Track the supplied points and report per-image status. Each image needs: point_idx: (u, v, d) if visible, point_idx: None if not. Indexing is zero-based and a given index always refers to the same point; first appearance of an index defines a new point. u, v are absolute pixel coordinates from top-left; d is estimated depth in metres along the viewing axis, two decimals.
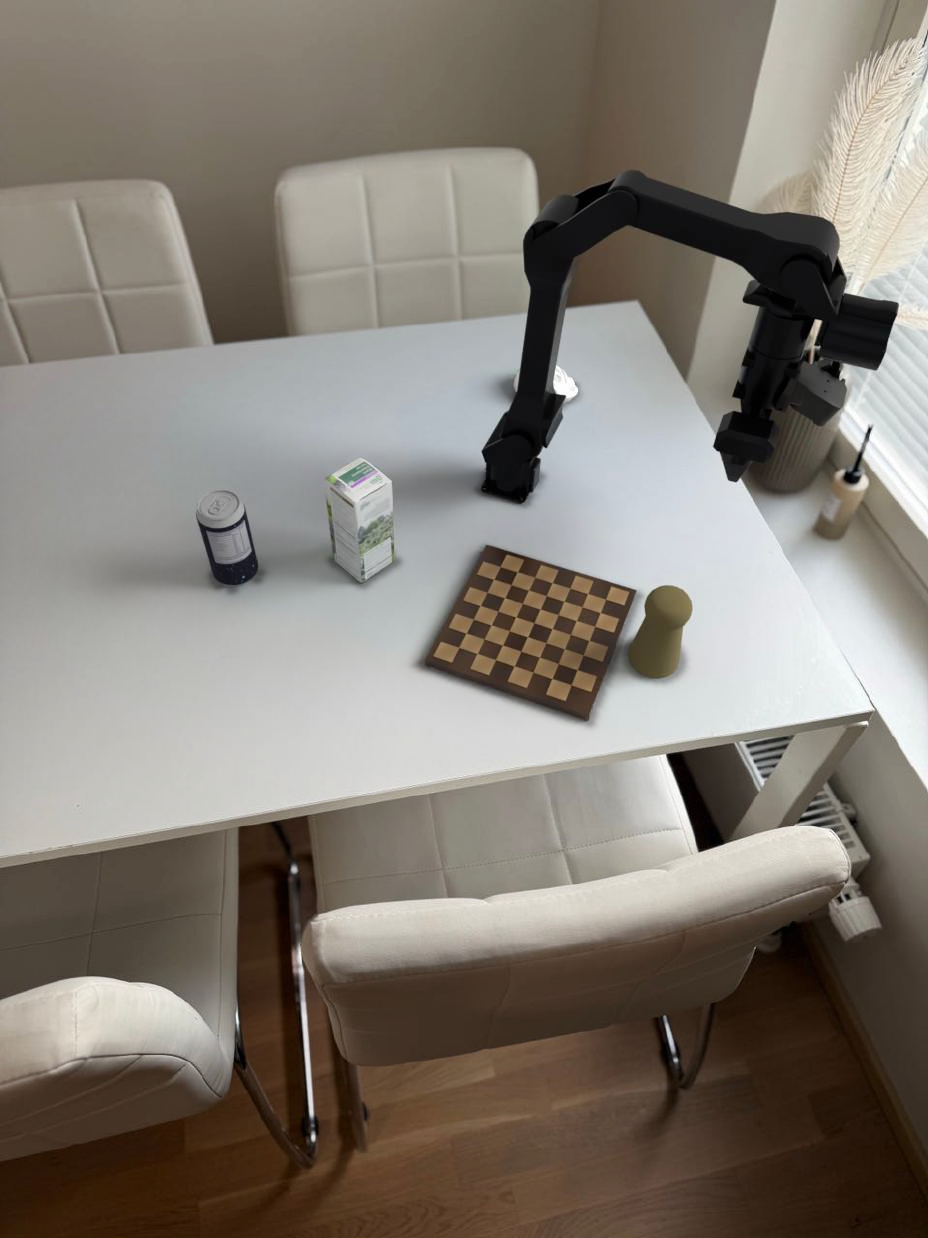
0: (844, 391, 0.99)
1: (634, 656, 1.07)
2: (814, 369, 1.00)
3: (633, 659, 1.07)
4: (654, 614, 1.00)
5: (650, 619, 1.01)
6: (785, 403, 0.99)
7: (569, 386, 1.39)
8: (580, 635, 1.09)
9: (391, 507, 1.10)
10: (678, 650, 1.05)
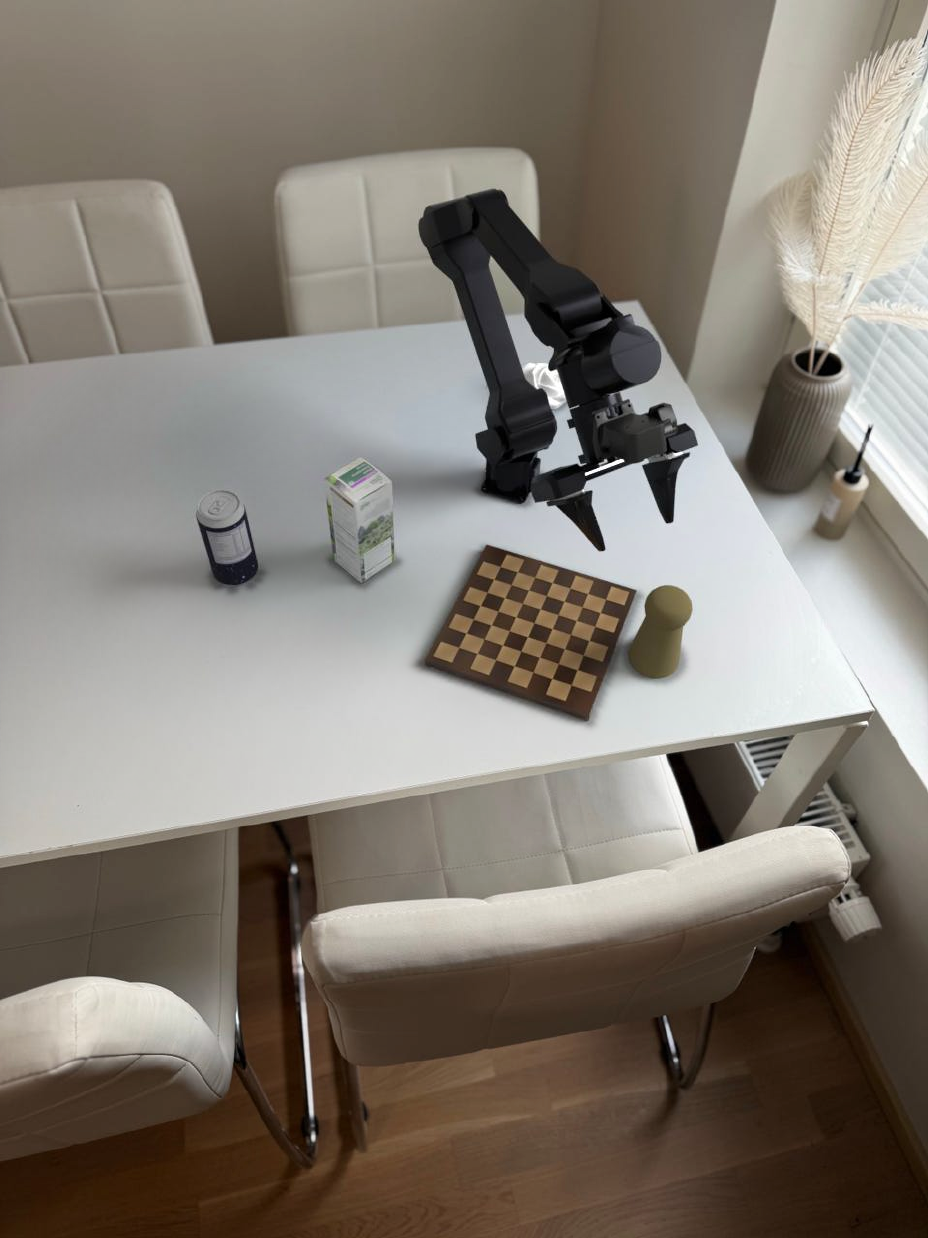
0: (655, 425, 0.93)
1: (634, 656, 1.07)
2: (636, 416, 0.97)
3: (633, 659, 1.07)
4: (654, 614, 1.00)
5: (650, 619, 1.01)
6: (598, 449, 0.97)
7: None
8: (580, 635, 1.09)
9: (391, 507, 1.10)
10: (678, 650, 1.05)
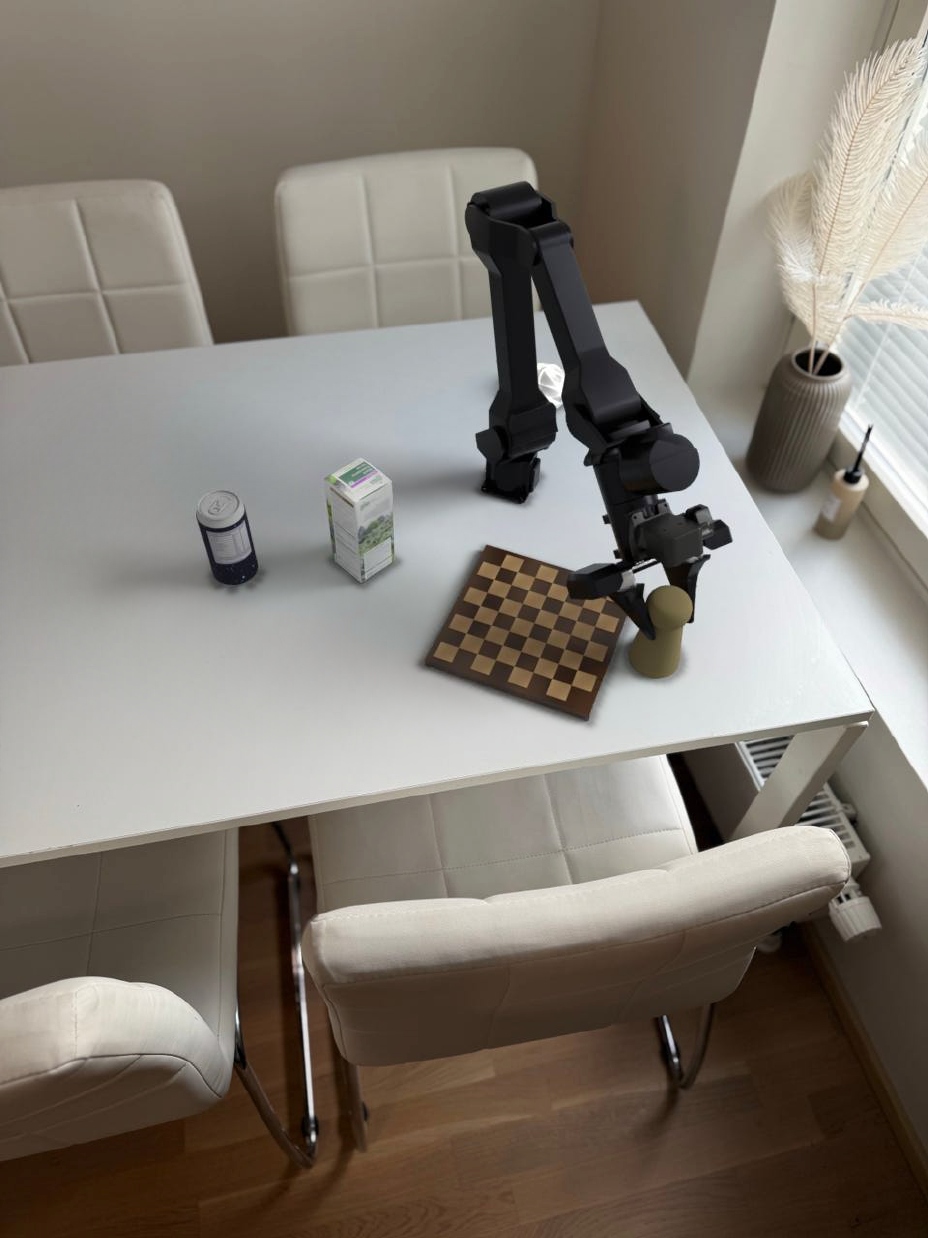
0: (692, 530, 0.94)
1: (634, 656, 1.07)
2: (673, 517, 0.97)
3: (633, 659, 1.07)
4: (654, 614, 1.00)
5: None
6: (634, 549, 0.98)
7: None
8: (580, 635, 1.09)
9: (391, 507, 1.10)
10: (678, 650, 1.05)
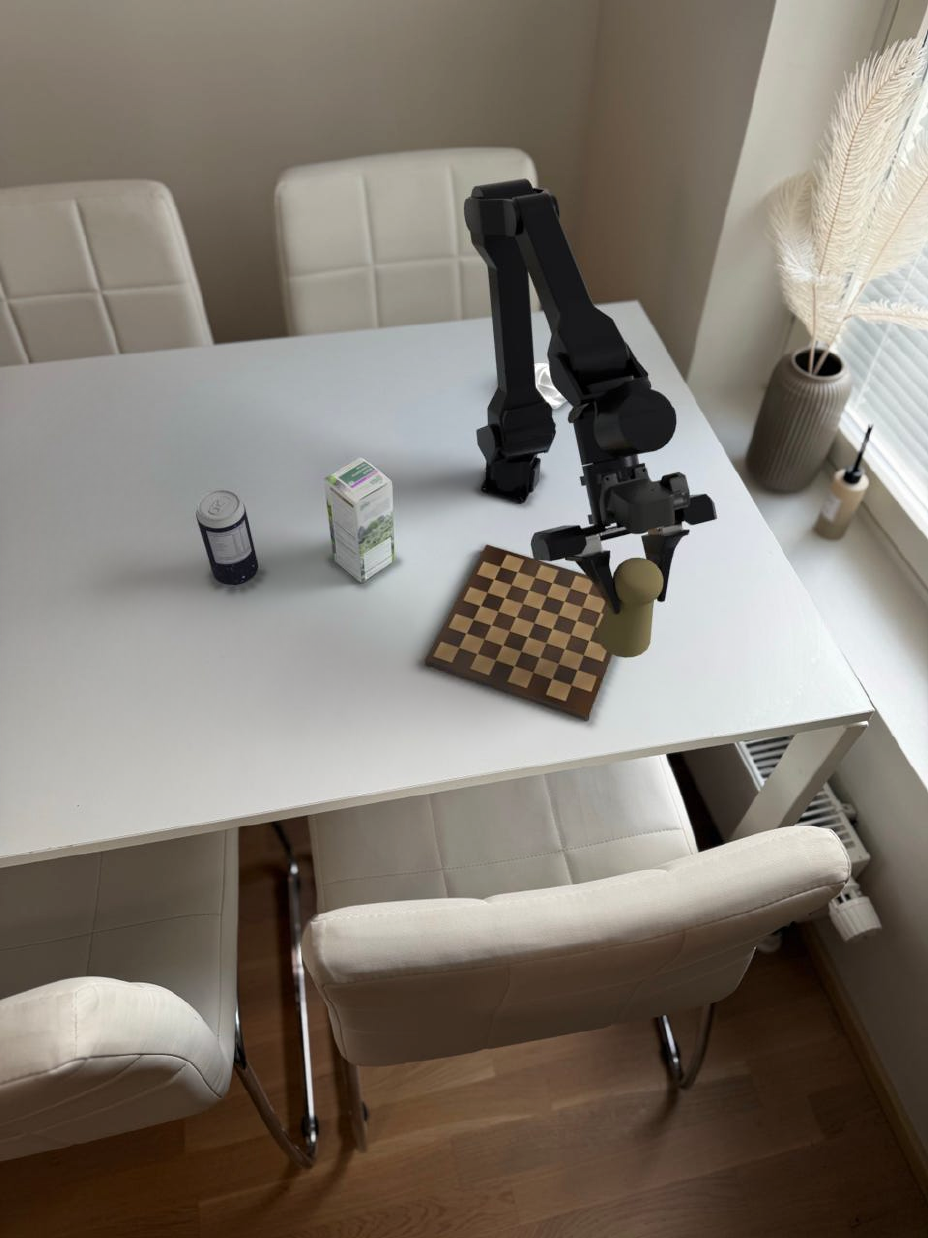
0: (662, 496, 0.87)
1: (601, 631, 1.01)
2: (648, 483, 0.91)
3: (600, 634, 1.01)
4: (619, 585, 0.94)
5: (616, 591, 0.95)
6: (603, 513, 0.92)
7: None
8: (580, 635, 1.09)
9: (391, 507, 1.10)
10: (647, 630, 0.99)
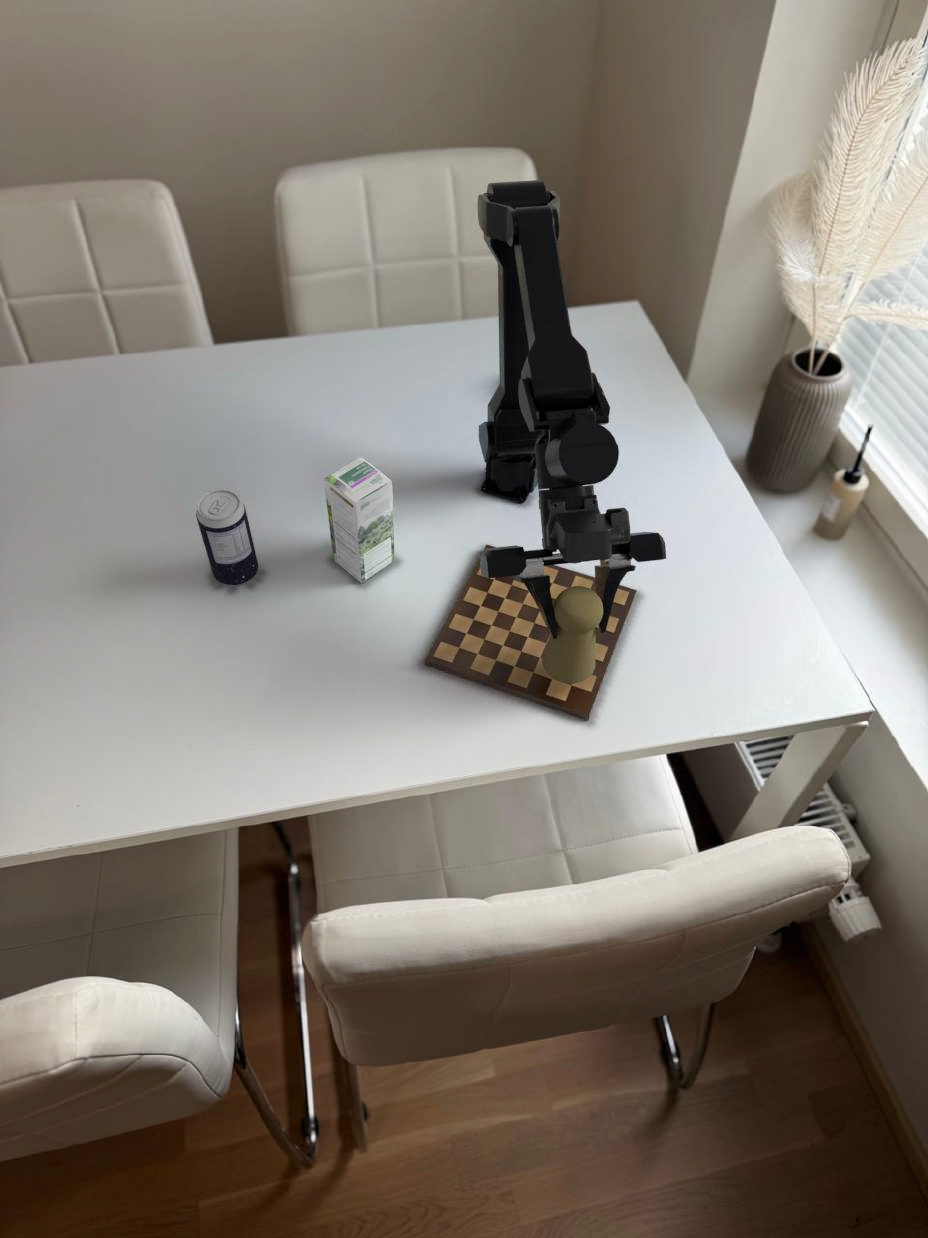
0: (599, 530, 0.88)
1: (545, 653, 1.02)
2: (594, 515, 0.92)
3: (544, 656, 1.03)
4: (557, 611, 0.95)
5: None
6: (548, 538, 0.93)
7: None
8: None
9: (391, 507, 1.10)
10: (586, 659, 1.00)
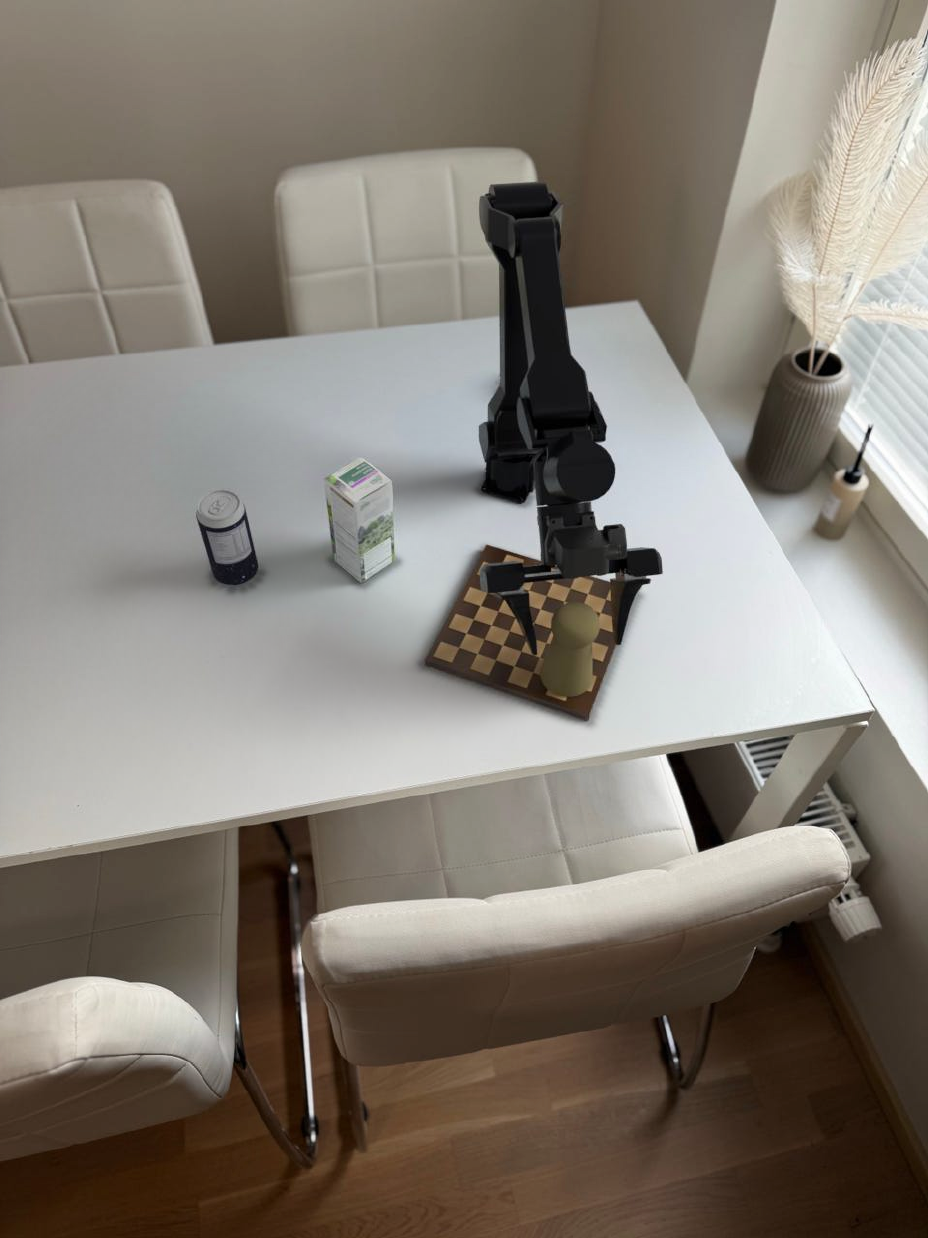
0: (596, 546, 0.90)
1: (543, 667, 1.04)
2: (591, 531, 0.93)
3: (542, 670, 1.05)
4: (554, 626, 0.97)
5: (552, 631, 0.98)
6: (546, 554, 0.95)
7: None
8: None
9: (391, 507, 1.10)
10: (584, 672, 1.02)
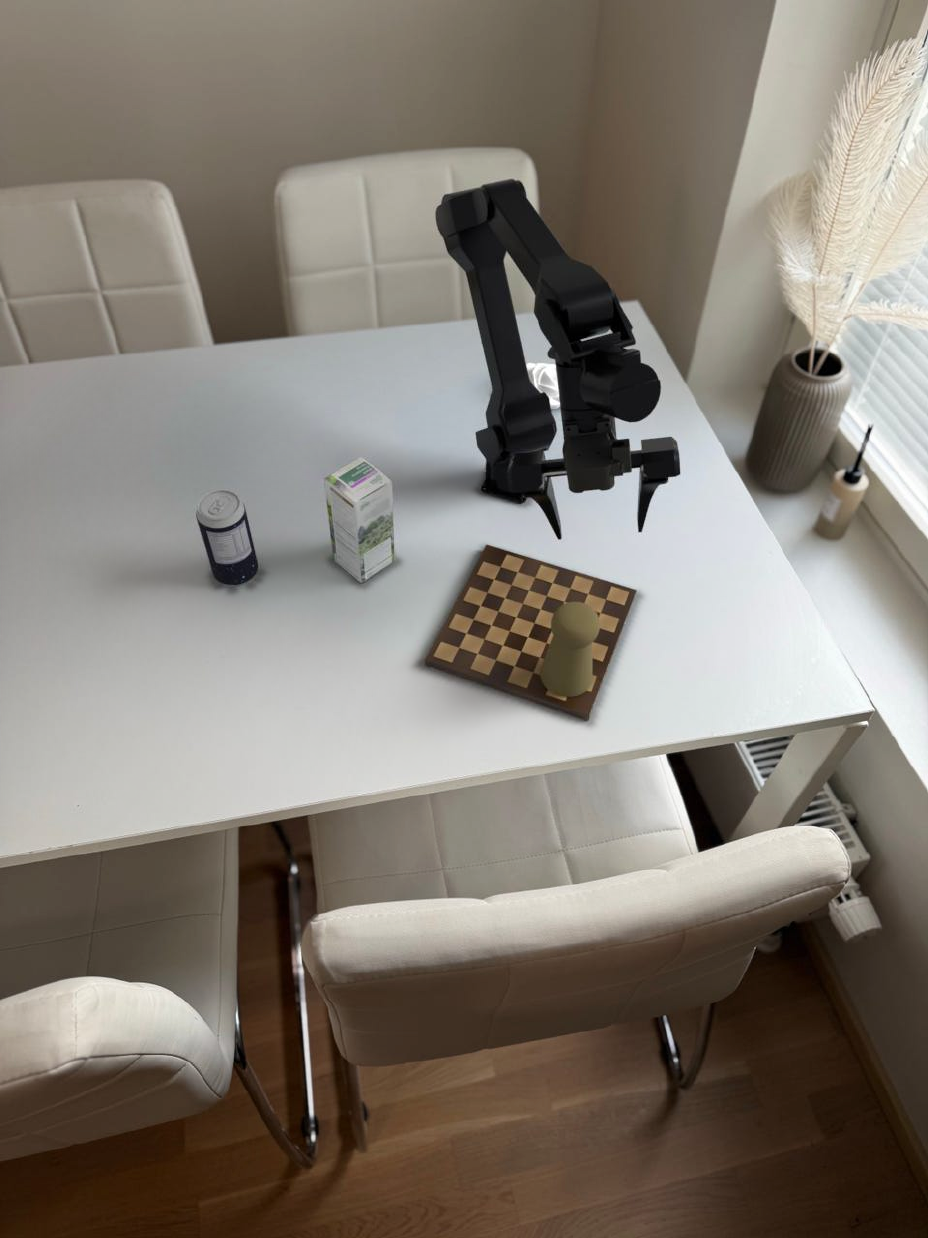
0: (597, 466, 0.94)
1: (543, 667, 1.04)
2: (603, 441, 0.97)
3: (542, 670, 1.05)
4: (554, 626, 0.97)
5: (552, 631, 0.98)
6: (563, 457, 1.00)
7: None
8: None
9: (391, 507, 1.10)
10: (584, 672, 1.02)
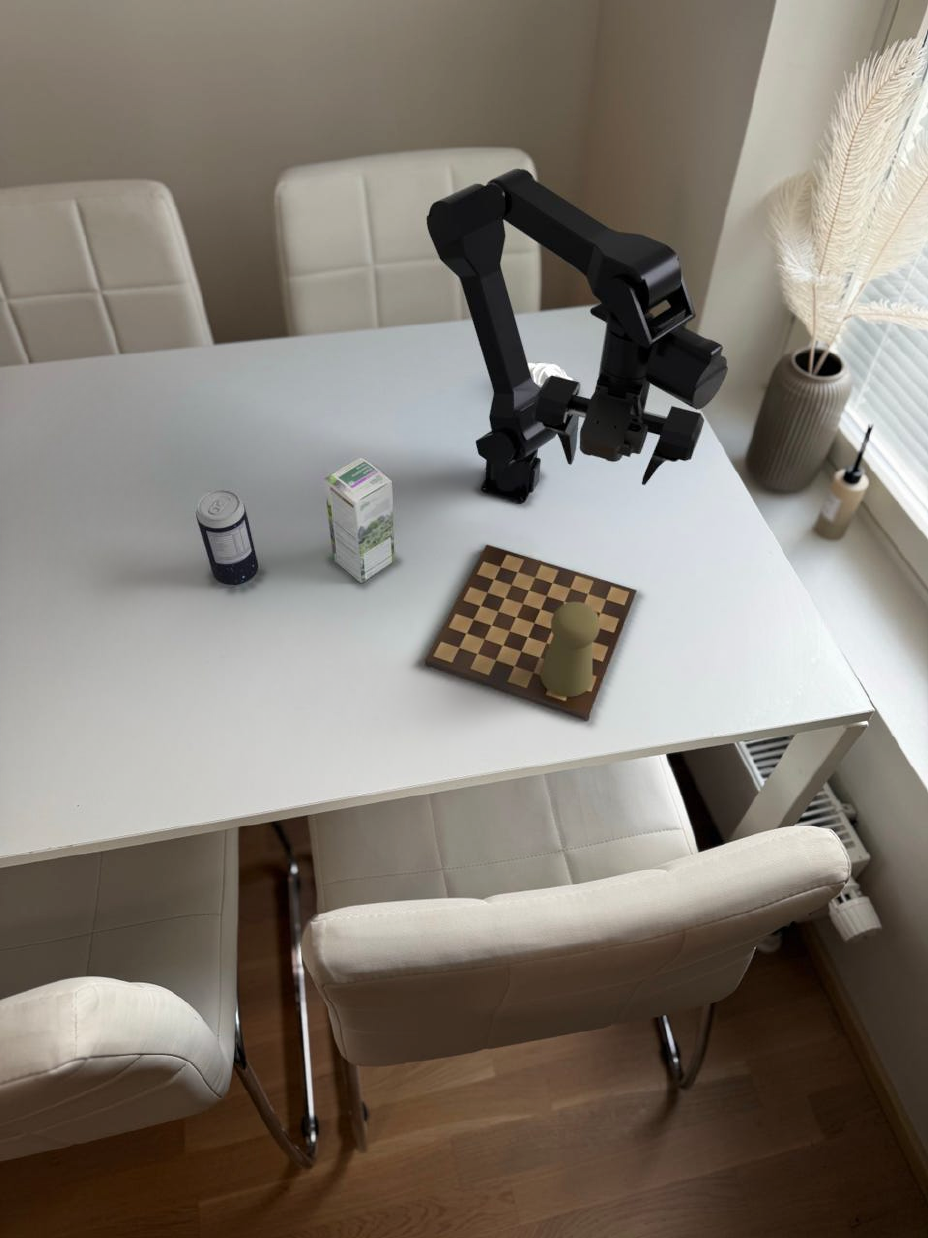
0: (608, 443, 0.97)
1: (543, 667, 1.04)
2: (625, 414, 0.98)
3: (542, 670, 1.05)
4: (554, 626, 0.97)
5: (552, 631, 0.98)
6: (588, 408, 1.02)
7: None
8: None
9: (391, 507, 1.10)
10: (584, 672, 1.02)
